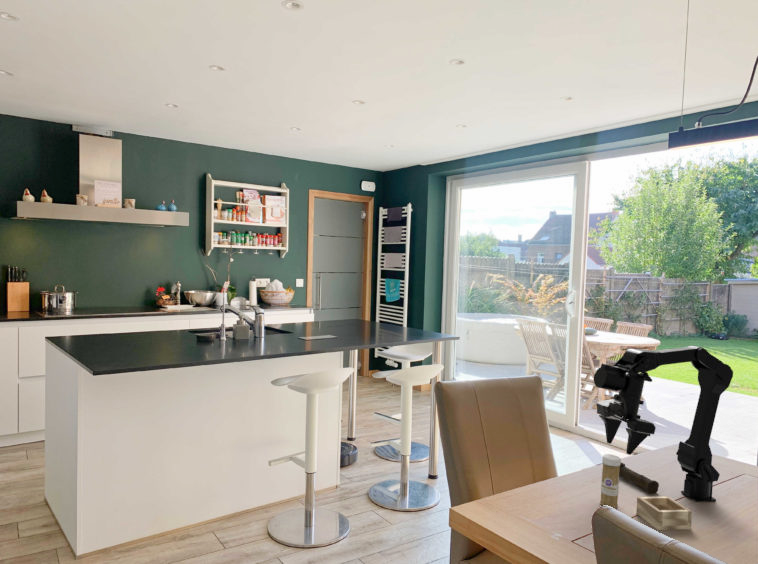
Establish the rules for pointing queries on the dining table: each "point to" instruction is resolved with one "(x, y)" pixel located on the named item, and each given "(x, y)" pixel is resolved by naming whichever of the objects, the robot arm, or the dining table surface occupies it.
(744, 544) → the dining table surface
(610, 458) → the sprinkles bottle
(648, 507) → the beech holder
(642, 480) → the hand tool
